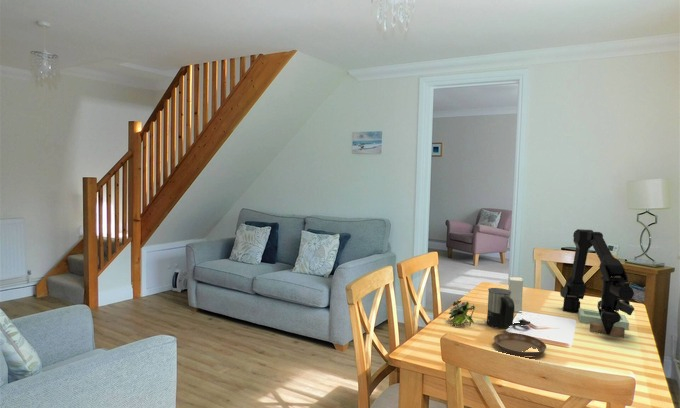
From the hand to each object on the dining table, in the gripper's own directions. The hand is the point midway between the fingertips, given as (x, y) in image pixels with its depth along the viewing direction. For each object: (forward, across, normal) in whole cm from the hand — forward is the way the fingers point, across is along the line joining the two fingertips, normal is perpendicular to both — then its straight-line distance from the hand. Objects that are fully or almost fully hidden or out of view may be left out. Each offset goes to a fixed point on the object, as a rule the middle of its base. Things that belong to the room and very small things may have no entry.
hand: (606, 330), depth 182 cm
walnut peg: (+1, 0, 0) cm, 1 cm away
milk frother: (+1, -13, +37) cm, 39 cm away
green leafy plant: (+1, -20, +54) cm, 58 cm away
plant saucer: (+2, -37, +31) cm, 48 cm away
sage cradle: (+1, +16, 0) cm, 16 cm away
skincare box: (+1, +13, +36) cm, 38 cm away
